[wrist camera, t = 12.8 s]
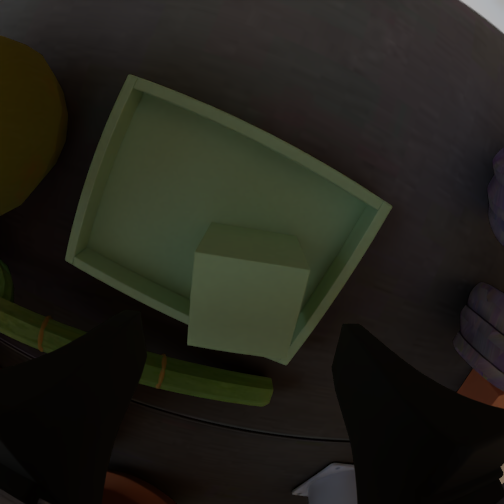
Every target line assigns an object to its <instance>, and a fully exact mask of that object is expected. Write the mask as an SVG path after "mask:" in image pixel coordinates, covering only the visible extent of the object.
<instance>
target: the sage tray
mask: <svg viewBox="0 0 504 504" xmlns="http://www.w3.org/2000/svg"><path fill="white" fill-rule="evenodd" d="M391 208H392V206H391V205H390V204H389V203H387V202H386V201H384V200H382V199H381V198H380V197H378V196H376V195H375V194H373V193H372V192H370V191H369V190H367V189H366V188H364V187H363V186H361V185H359V184H358V183H356V182H355V181H353V180H351V179H350V178H348V177H346V176H345V175H343V174H341V173H340V172H338V171H337V170H335V169H333V168H331V167H330V166H328V165H326V164H325V163H323V162H321V161H319V160H318V159H316V158H314V157H312V156H311V155H309V154H307V153H305V152H303V151H302V150H300V149H298V148H296V147H294V146H292V145H291V144H289V143H287V142H285V141H283V140H281V139H279V138H277V137H275V136H273V135H272V134H270V133H268V132H266V131H264V130H262V129H260V128H258V127H256V126H254V125H252V124H249V123H247V122H245V121H243V120H241V119H239V118H237V117H235V116H233V115H230V114H228V113H226V112H224V111H222V110H219V109H217V108H215V107H213V106H210V105H208V104H206V103H204V102H201V101H199V100H196V99H194V98H192V97H189V96H187V95H184V94H182V93H179V92H177V91H174V90H172V89H169V88H167V87H164V86H161V85H159V84H156V83H153V82H151V81H148V80H145V79H142V78H139V77H137V76H134V75H131V74H129V75H128V77H127V79H126V81H125V83H124V85H123V87H122V89H121V91H120V93H119V96H118V98H117V100H116V102H115V104H114V107H113V109H112V111H111V113H110V116H109V118H108V120H107V123H106V125H105V128H104V130H103V133H102V135H101V138H100V140H99V143H98V146H97V148H96V151H95V154H94V157H93V160H92V162H91V165H90V168H89V171H88V174H87V177H86V180H85V184H84V187H83V190H82V193H81V197H80V200H79V204H78V207H77V211H76V215H75V218H74V222H73V226H72V230H71V234H70V239H69V243H68V247H67V252H66V257H65V261H67V262H69V263H70V264H73V265H74V266H75V267H77V268H79V269H81V270H82V271H84V272H86V273H88V274H89V275H91V276H93V277H95V278H97V279H98V280H100V281H102V282H104V283H106V284H108V285H109V286H111V287H113V288H115V289H117V290H119V291H121V292H123V293H124V294H126V295H128V296H130V297H132V298H134V299H136V300H138V301H140V302H142V303H144V304H146V305H148V306H150V307H152V308H154V309H156V310H158V311H160V312H162V313H164V314H166V315H168V316H170V317H173V318H175V319H177V320H179V321H181V322H183V323H185V324H188V323H189V309H190V296H191V285H192V273H193V263H194V253H195V251H196V249H197V247H198V245H199V243H200V242H201V240H202V238H203V236H204V235H205V233H206V231H207V229H208V227H209V226H210V224H211V222H213V223H220V224H226V225H233V226H239V227H245V228H251V229H258V230H264V231H270V232H276V233H282V234H288V235H294V236H297V238H298V241H299V243H300V246H301V248H302V251H303V253H304V256H305V258H306V261H307V263H308V266H309V268H310V274H309V278H308V282H307V286H306V289H305V293H304V297H303V301H302V305H301V308H300V312H299V316H298V319H297V323H296V326H295V330H294V333H293V337H292V340H291V344H290V347H289V351H288V354H287V357H286V359H279V358H271V357H266V358H268V359H271V360H273V361H276V362H279V363H281V364H284V365H287V364H288V363H289V362H290V360H291V359H292V358H293V356H294V355H295V354H296V352H297V351H298V350H299V348H300V347H301V346H302V344H303V343H304V342H305V340H306V339H307V338H308V336H309V335H310V334H311V332H312V331H313V329H314V328H315V327H316V325H317V324H318V322H319V321H320V320H321V318H322V317H323V315H324V314H325V313H326V311H327V310H328V308H329V307H330V305H331V304H332V302H333V301H334V300H335V298H336V297H337V295H338V294H339V292H340V291H341V289H342V288H343V286H344V285H345V283H346V282H347V280H348V279H349V277H350V276H351V274H352V272H353V271H354V269H355V268H356V266H357V265H358V263H359V262H360V260H361V258H362V257H363V255H364V254H365V252H366V250H367V249H368V247H369V246H370V244H371V242H372V241H373V239H374V237H375V236H376V234H377V232H378V231H379V229H380V227H381V226H382V224H383V222H384V221H385V219H386V217H387V215H388V214H389V212H390V210H391Z"/></svg>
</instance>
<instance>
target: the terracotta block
mask: <svg viewBox="0 0 504 504" xmlns="http://www.w3.org/2000/svg"><path fill="white" fill-rule="evenodd" d="M457 393H459V394H461V395H463V396H466V397H468V398H471V399H473V400H476V401H479V402H482V403H485V404H488V405H491V406H495V407H499V408H503V409H504V391H502V390H500V389H499V388H497V387H495V386H494V385H493V384H491V383H490V382H488V381H487V380H486V379H485V378H484V377H482V376H481V375H480V374H479V373H478V372H477V371H475V370H474V369H472V371H471V372H470V374H469V375H468V377H467V378H466V380H465V381H464V383H463V384H462V386H461V387H460V389H459V390H458V391H457Z"/></svg>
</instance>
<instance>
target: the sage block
mask: <svg viewBox="0 0 504 504" xmlns="http://www.w3.org/2000/svg"><path fill="white" fill-rule="evenodd" d="M309 274H310V268H309V266H308V263H307V261H306V258H305V256H304V253H303V251H302V248H301V246H300V243H299V241H298V238H297V236H294V235H288V234H282V233H276V232H270V231H264V230H258V229H251V228H245V227H239V226H233V225H226V224H220V223H213V222H211V224H210V226H209V227H208V229H207V231H206V233H205V235H204V236H203V238H202V240H201V242H200V243H199V245H198V247H197V249H196V251H195V253H194V263H193V273H192V285H191V296H190V309H189V323H188V338H187V345H191V346H196V347H202V348H208V349H214V350H220V351H226V352H233V353H240V354H247V355H255V356H262V357H271V358H279V359H286V357H287V354H288V351H289V347H290V344H291V340H292V337H293V333H294V330H295V326H296V323H297V319H298V316H299V312H300V308H301V305H302V301H303V297H304V293H305V289H306V286H307V282H308V278H309Z"/></svg>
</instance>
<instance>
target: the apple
mask: <svg viewBox="0 0 504 504" xmlns="http://www.w3.org/2000/svg"><path fill="white" fill-rule="evenodd" d="M67 124H68V111H67V106H66V101H65V96H64V92H63V90H62V88H61V87H60V85H59V83H58V81H57V79H56V77H55V75H54V73H53V72H52V70H51V69H50V67H49V65H48V64H47V62H46V60H45V59H44V57H43V55H41V54H40V53H38V52H37V51H35V50H33V49H32V48H30V47H29V46H27V45H25V44H22V43H20V42H17V41H14V40H12V39H9V38H6V37H3V36H0V216H1V215H3V214H5V213H7V212H9V211H10V210H12V209H14V208H16V207H18V206H20V205H22V203H23V202H24V201H25V200H26V198H27V197H28V196H29V195H30V194H31V193H32V191H33V190H34V189H35V188H36V187H37V186H38V184H39V183H40V182H41V181H42V180H43V178H44V177H45V176H46V175H47V174H48V173H49V171H50V170H51V169H52V168H53V167H54V166H55V164H56V163H57V160H58V158H59V156H60V153H61V151H62V149H63V147H64V144H65V142H66V135H67Z"/></svg>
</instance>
